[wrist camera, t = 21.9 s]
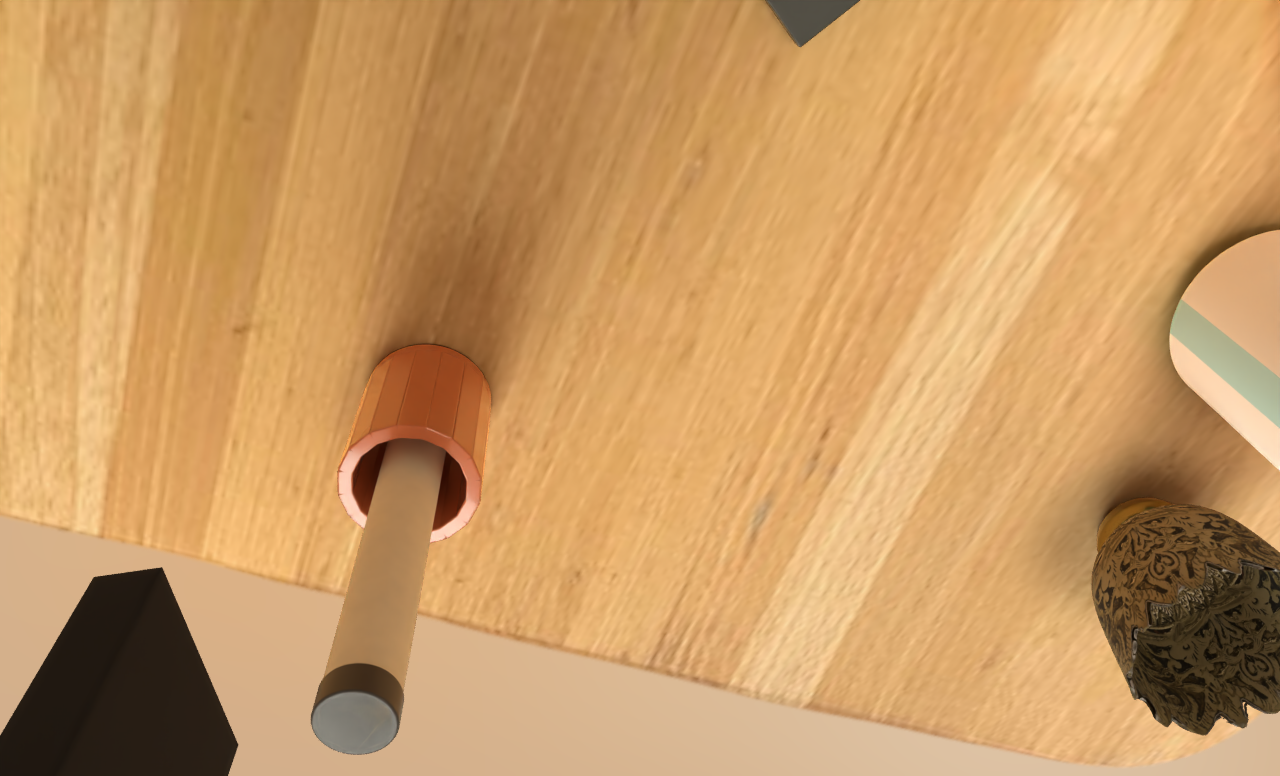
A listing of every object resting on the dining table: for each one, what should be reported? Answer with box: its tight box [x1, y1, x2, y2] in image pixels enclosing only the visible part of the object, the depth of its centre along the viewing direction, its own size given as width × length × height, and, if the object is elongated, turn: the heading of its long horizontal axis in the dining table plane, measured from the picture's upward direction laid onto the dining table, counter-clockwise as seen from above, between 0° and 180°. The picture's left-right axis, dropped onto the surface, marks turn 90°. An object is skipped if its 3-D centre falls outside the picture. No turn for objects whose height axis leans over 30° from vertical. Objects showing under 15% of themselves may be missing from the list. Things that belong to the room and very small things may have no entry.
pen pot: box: [337, 344, 491, 543], centre depth 39 cm, size 5×5×6 cm
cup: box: [1092, 497, 1280, 735], centre depth 43 cm, size 8×7×8 cm
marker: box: [311, 438, 446, 755], centre depth 34 cm, size 2×2×16 cm
